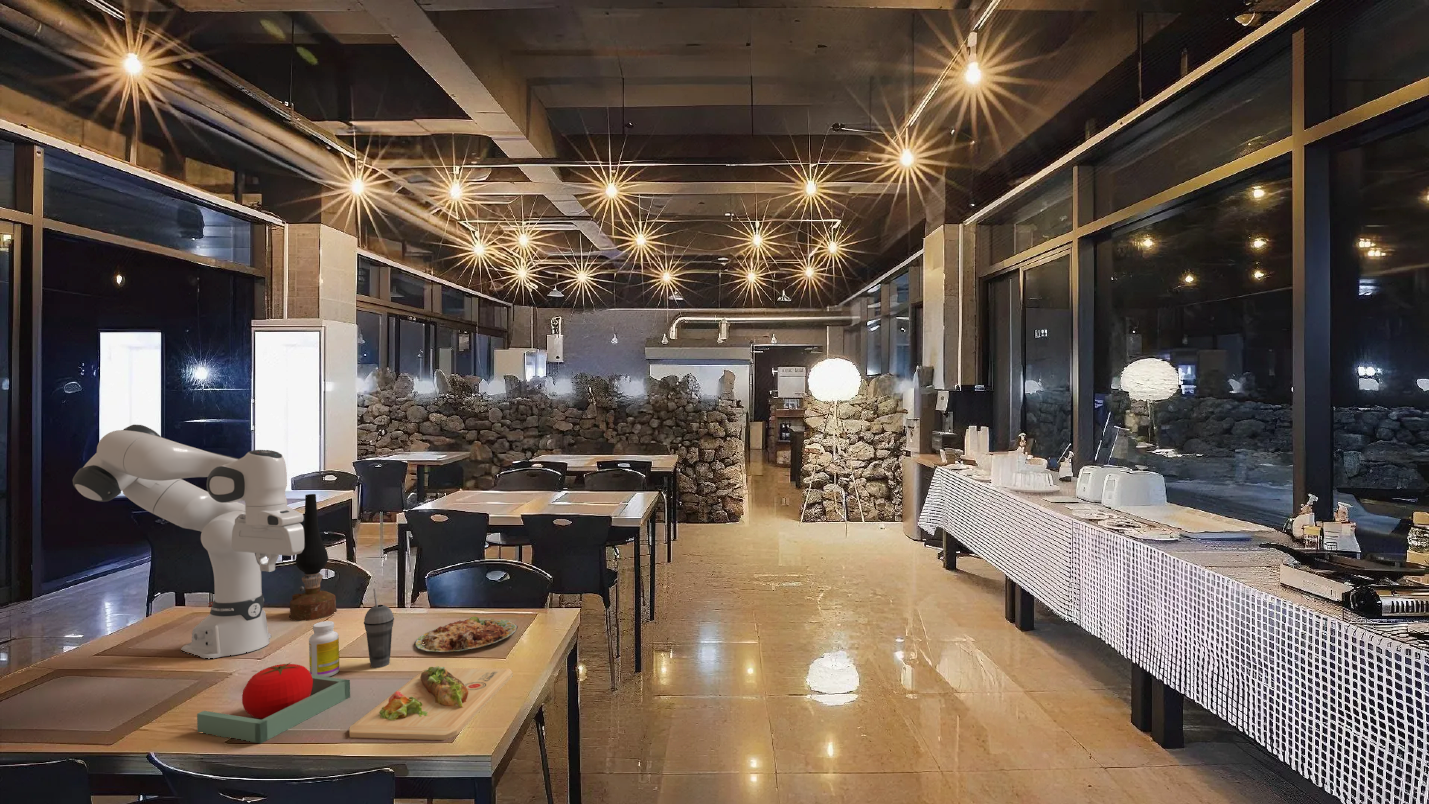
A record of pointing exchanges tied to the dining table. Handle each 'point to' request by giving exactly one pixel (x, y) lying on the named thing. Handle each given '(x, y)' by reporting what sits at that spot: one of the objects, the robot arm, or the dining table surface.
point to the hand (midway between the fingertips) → (267, 571)
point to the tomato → (276, 689)
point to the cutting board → (432, 704)
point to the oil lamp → (312, 571)
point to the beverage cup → (379, 633)
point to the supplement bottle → (324, 650)
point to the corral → (259, 731)
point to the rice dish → (466, 635)
